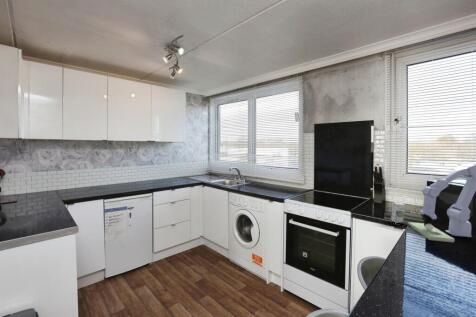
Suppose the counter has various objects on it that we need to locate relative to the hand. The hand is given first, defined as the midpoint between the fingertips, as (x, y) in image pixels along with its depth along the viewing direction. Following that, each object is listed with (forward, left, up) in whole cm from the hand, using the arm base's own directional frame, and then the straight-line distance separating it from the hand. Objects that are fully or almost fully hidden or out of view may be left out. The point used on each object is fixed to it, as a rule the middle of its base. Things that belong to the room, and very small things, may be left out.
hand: (426, 226), depth 143 cm
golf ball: (0, +2, 0) cm, 2 cm away
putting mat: (-1, +1, -3) cm, 4 cm away
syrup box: (+11, -14, -4) cm, 18 cm away
